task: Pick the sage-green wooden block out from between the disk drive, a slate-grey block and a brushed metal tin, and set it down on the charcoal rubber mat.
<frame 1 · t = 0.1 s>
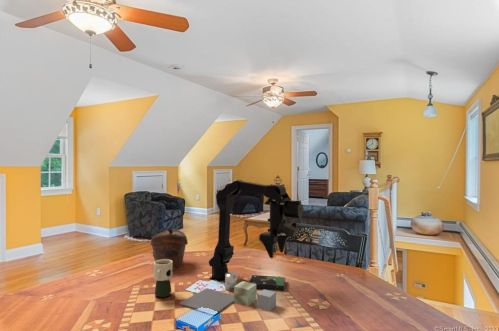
hand: (276, 255, 125), 15 cm above the table, tool pointing down, fingers open, 9 cm apart
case: (168, 266, 157), on the table
slate block: (266, 307, 112), on the table
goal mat: (210, 301, 116), on the table
disk drive: (267, 286, 132), on the table
metal tin: (231, 288, 128), on the table
character mug: (163, 295, 121), on the table
sage block: (245, 301, 116), on the table
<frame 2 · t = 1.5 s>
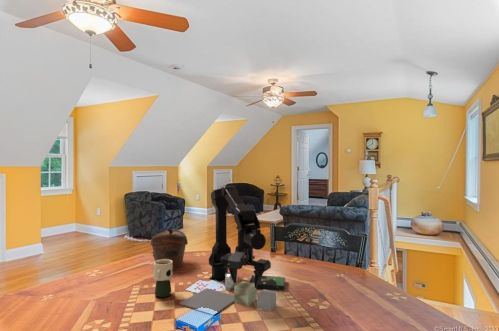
hand: (245, 285, 116), 6 cm above the table, tool pointing down, fingers open, 9 cm apart
nothing on the table moved.
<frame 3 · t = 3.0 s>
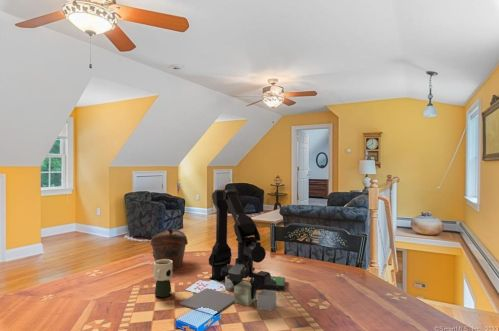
hand: (245, 296, 116), 2 cm above the table, tool pointing down, fingers closed on sage block, 6 cm apart
sage block: (245, 301, 116), on the table, touching gripper
everything else where it was.
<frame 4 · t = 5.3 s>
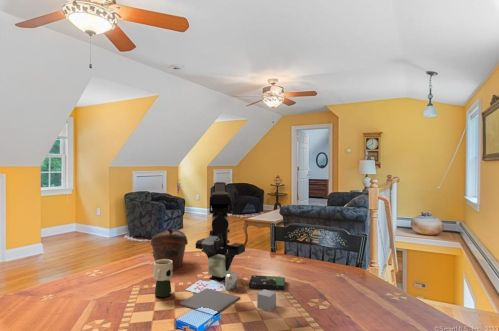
hand: (219, 269, 116), 12 cm above the table, tool pointing down, fingers closed on sage block, 6 cm apart
sage block: (219, 273, 116), point 10 cm above the table, touching gripper
everything else where it was.
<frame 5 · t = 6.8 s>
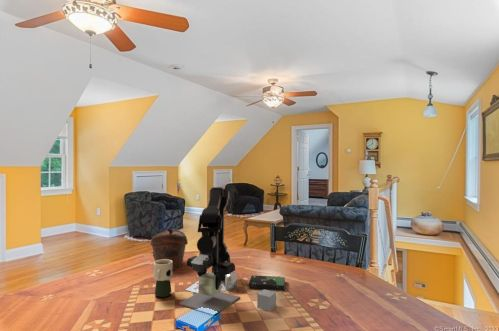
hand: (210, 287, 116), 5 cm above the table, tool pointing down, fingers closed on sage block, 6 cm apart
sage block: (210, 291, 116), point 4 cm above the table, touching gripper
everything else where it was.
when the fingers open (3 cm above the table, at t = 8.0 s): sage block drops 1 cm, resting on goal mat.
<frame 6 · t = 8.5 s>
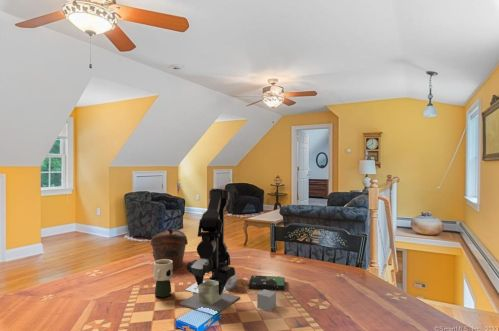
hand: (210, 292, 116), 3 cm above the table, tool pointing down, fingers open, 9 cm apart
sage block: (210, 299, 116), point 1 cm above the table, touching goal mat
everything else where it was.
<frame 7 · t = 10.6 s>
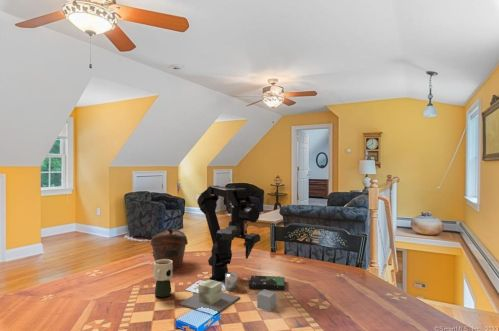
hand: (237, 256, 129), 13 cm above the table, tool pointing down, fingers open, 9 cm apart
nothing on the table moved.
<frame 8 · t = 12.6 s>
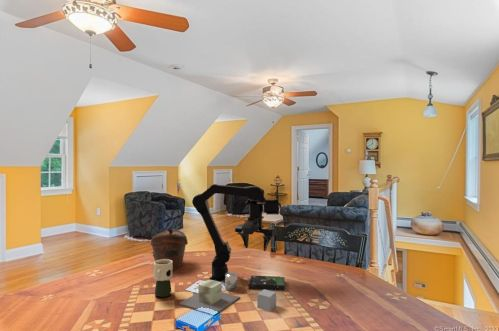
hand: (255, 249, 139), 13 cm above the table, tool pointing down, fingers open, 9 cm apart
nothing on the table moved.
at the end: sage block inside the target area on the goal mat (0.0 cm from its centre), point 0.6 cm above the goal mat's base; sage block tilted 0°; the gripper is holding nothing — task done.
